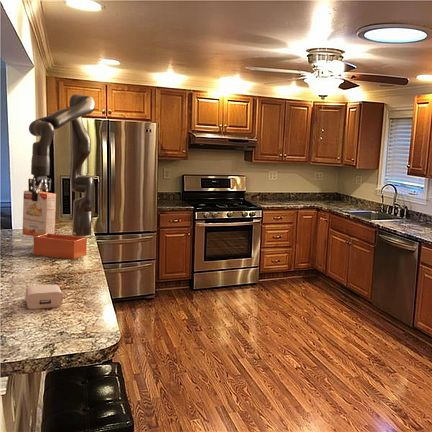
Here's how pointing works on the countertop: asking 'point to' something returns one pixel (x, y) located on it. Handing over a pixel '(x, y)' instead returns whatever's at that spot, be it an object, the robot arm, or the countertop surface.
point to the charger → (43, 296)
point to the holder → (60, 246)
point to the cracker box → (39, 214)
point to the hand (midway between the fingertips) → (39, 200)
